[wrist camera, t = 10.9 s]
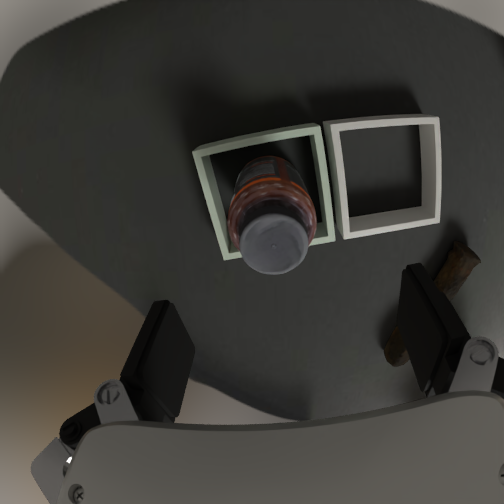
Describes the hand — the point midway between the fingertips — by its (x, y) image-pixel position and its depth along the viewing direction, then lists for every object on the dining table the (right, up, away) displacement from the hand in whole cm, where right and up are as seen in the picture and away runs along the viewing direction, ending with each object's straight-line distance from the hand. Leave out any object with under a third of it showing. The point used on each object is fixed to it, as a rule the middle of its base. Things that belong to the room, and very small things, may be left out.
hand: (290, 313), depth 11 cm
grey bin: (+11, +10, +14) cm, 20 cm away
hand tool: (+21, -4, +22) cm, 31 cm away
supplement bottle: (0, +9, +15) cm, 17 cm away
